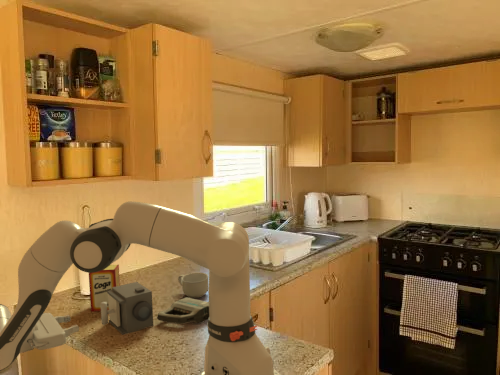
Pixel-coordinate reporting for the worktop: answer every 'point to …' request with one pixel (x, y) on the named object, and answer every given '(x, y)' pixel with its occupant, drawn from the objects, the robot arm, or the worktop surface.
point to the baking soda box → (102, 285)
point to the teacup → (194, 284)
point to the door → (110, 311)
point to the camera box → (133, 307)
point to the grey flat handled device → (185, 311)
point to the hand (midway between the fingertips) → (74, 322)
